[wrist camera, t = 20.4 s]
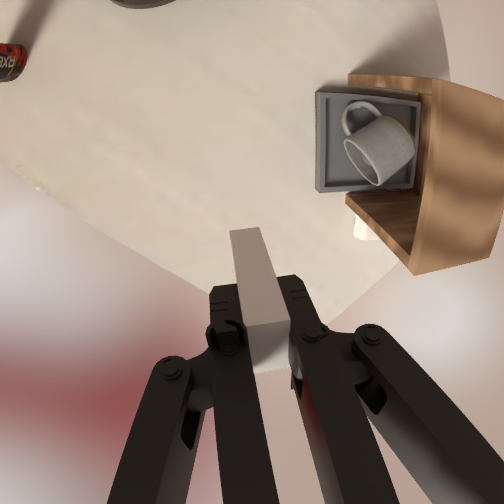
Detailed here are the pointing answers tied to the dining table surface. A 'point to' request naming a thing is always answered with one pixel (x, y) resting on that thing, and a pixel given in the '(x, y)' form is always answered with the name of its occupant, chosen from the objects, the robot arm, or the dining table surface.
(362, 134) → the ceramic mug
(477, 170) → the wooden cube shelf
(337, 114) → the tray
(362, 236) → the soap
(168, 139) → the dining table surface
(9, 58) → the deodorant
